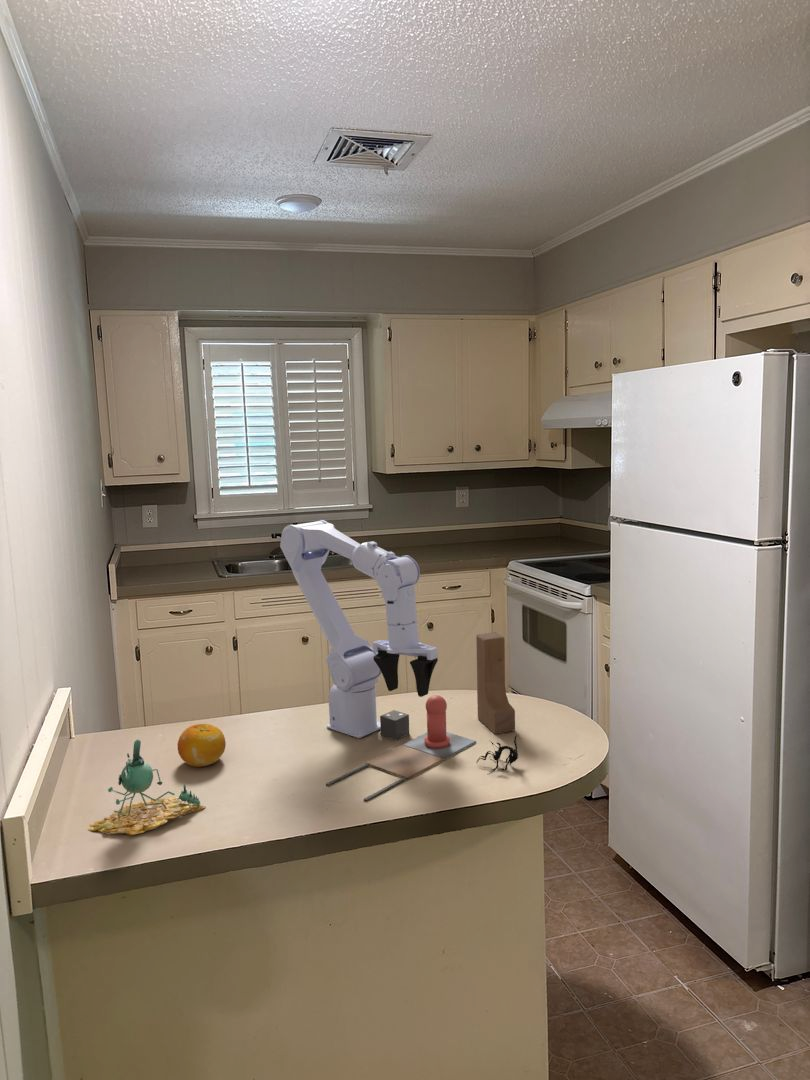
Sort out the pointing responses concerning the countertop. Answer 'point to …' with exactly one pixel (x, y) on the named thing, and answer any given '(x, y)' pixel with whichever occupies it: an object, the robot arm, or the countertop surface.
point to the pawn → (436, 723)
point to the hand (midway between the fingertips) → (407, 692)
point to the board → (411, 759)
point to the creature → (498, 754)
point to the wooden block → (493, 684)
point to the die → (394, 725)
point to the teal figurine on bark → (146, 812)
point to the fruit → (201, 745)
